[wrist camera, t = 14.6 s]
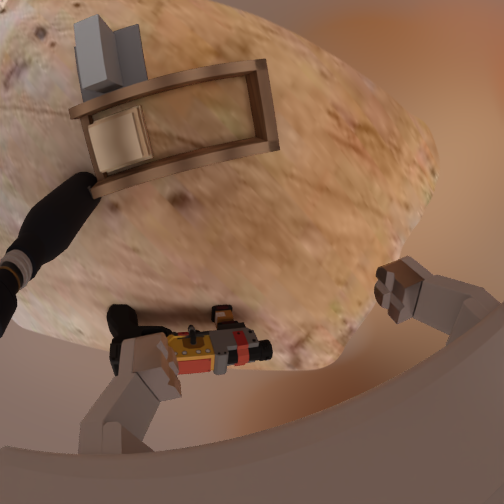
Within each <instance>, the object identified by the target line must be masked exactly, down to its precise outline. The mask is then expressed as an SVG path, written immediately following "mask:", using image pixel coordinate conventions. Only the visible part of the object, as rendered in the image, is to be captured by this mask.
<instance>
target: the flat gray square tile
mask: <svg viewBox="0 0 504 504" xmlns="http://www.w3.org/2000/svg"><path fill="white" fill-rule="evenodd" d="M113 33H114V34H115V40H116V47H117V53H118V60H119V65H120V71H121V77H122V82H123V87H120V88H118V89H121V88H124V87H127V86H130V85H133V84H136V83H140V82H143V81H146V80H148V78H147V73H146V67H145V62H144V56H143V50H142V44H141V38H140V31H139V25H138V24H136V25H133V26H129V27H126V28H123V29H120V30H117V31H114V32H113ZM74 49H75V57H76V64H77V71H78V77H79V83H80V88H81V93H82V99H83V103H84V102H86V101H89V100H91V99H94V98H96V97H99V96H101V95H104V94H107V93H110V92H112V91H115V90H118V89H115V90H112V91H109V92H106V93H100V92H96V91H91V90H86V89H82V83H81V77H80V71H79V65H78V58H77V50H76V47H74Z"/></svg>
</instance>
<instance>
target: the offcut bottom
mask: <svg viewBox="0 0 504 504" xmlns="http://www.w3.org/2000/svg"><path fill="white" fill-rule="evenodd" d="M136 107H137V108H139V110H140V114H141V119H142V123H143V127H144V130H145V134H146V138H147V142H148V146H149V149H150V153H151V154H150V156H149V157H146V158H143V159H140V160H137V161H134V162H131V163H128V164H125V165H122V166H120V167H117V168H114V169H111V170H109V171H107V172H108V173H109V172H111V171H114V170H117V169H120V168H123V167H126V166H129V165H132V164H135V163H138V162H141V161H144V160H147V159H150V158H153V156H154V155H153V151H152V148H151V144H150V140H149V136H148V132H147V128H146V123H145V119H144V115H143V110H142V106H141V105H138V106H135V107H132V108H129V109H126V110H123V111H120V112H118V113H115V114H112V115H109V116H107V117H104V118H101V119H99V120H96V121H94V123H96V122H98V121H101V120H103V119H106V118H108V117H111V116H114V115H116V114H119V113H122V112H125V111H127V110H130V109H133V108H136Z"/></svg>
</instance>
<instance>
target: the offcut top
mask: <svg viewBox="0 0 504 504" xmlns="http://www.w3.org/2000/svg"><path fill="white" fill-rule="evenodd" d="M88 130H89V134H90V138H91V142H92V146H93V149H94V153H95V157H96V160H97V164H98V167H99V170H100V172H101V171H103V170H106V169H109V168H112V167H115V166H118V165H121V164H123V163H126V162H130V161H133V160H136V159H139V158H142V157H143V156H144V151H143V147H142V144H141V140H140V135H139V131H138V127H137V123H136V119H135V114H134V113H129V114H126V115H123V116H121V117H118V118H115V119H112V120H109V121H107V122H104V123H101V124H99V125H96V126H93V127H91V128H88Z"/></svg>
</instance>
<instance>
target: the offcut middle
mask: <svg viewBox="0 0 504 504" xmlns="http://www.w3.org/2000/svg"><path fill="white" fill-rule="evenodd" d="M129 113H134V114H135V119H136V123H137V127H138V131H139V135H140V140H141V144H142V147H143V151H144V156H143V157H142V158H139V159H136V160H133V161H130V162H126V163H123V164H121V165H118V166H115V167H112V168H109V169H106V170H103V171H101V172H102V173H103V172H106V171H109V170H111V169H114V168H117V167H120V166H122V165H125V164H128V163H131V162H134V161H137V160H140V159H143V158H146V157H149V156H150V154H151V153H150V149H149V146H148V142H147V138H146V134H145V130H144V127H143V123H142V119H141V114H140V110H139V108H137V107H136V108H133V109H130V110H127V111H125V112H122V113H119V114H116V115H114V116H111V117H108V118H106V119H103V120H101V121H98V122H96V123H93V124H91V125H89V126H88V128H91V127H93V126H96V125H99V124H101V123H104V122H107V121H109V120H112V119H115V118H118V117H121V116H123V115H126V114H129Z"/></svg>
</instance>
